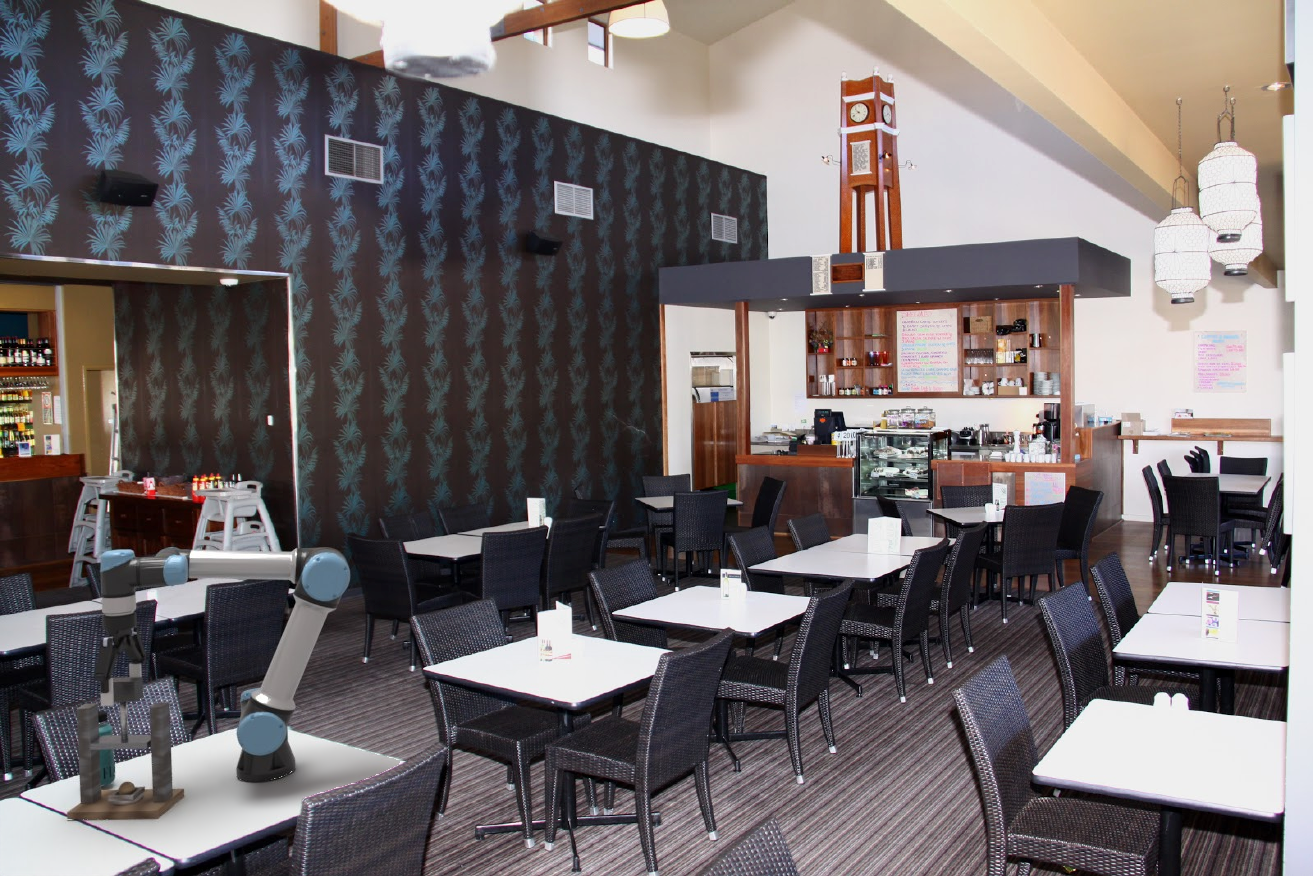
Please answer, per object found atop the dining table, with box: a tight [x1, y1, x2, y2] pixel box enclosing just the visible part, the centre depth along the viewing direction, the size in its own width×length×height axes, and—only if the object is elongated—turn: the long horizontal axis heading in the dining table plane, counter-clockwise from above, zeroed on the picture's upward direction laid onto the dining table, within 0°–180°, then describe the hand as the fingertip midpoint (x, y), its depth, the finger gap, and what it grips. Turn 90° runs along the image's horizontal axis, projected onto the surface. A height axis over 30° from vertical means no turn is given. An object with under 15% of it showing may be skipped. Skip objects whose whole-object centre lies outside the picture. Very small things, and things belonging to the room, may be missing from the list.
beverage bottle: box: [98, 711, 116, 787], centre depth 267 cm, size 6×7×20 cm
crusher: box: [90, 676, 151, 750], centre depth 253 cm, size 14×6×16 cm, turn 90°
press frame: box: [66, 701, 185, 821], centre depth 253 cm, size 22×14×26 cm, turn 90°
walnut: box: [118, 781, 136, 795], centre depth 254 cm, size 4×4×4 cm
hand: (122, 697), depth 253 cm, fingers open, 13 cm apart
